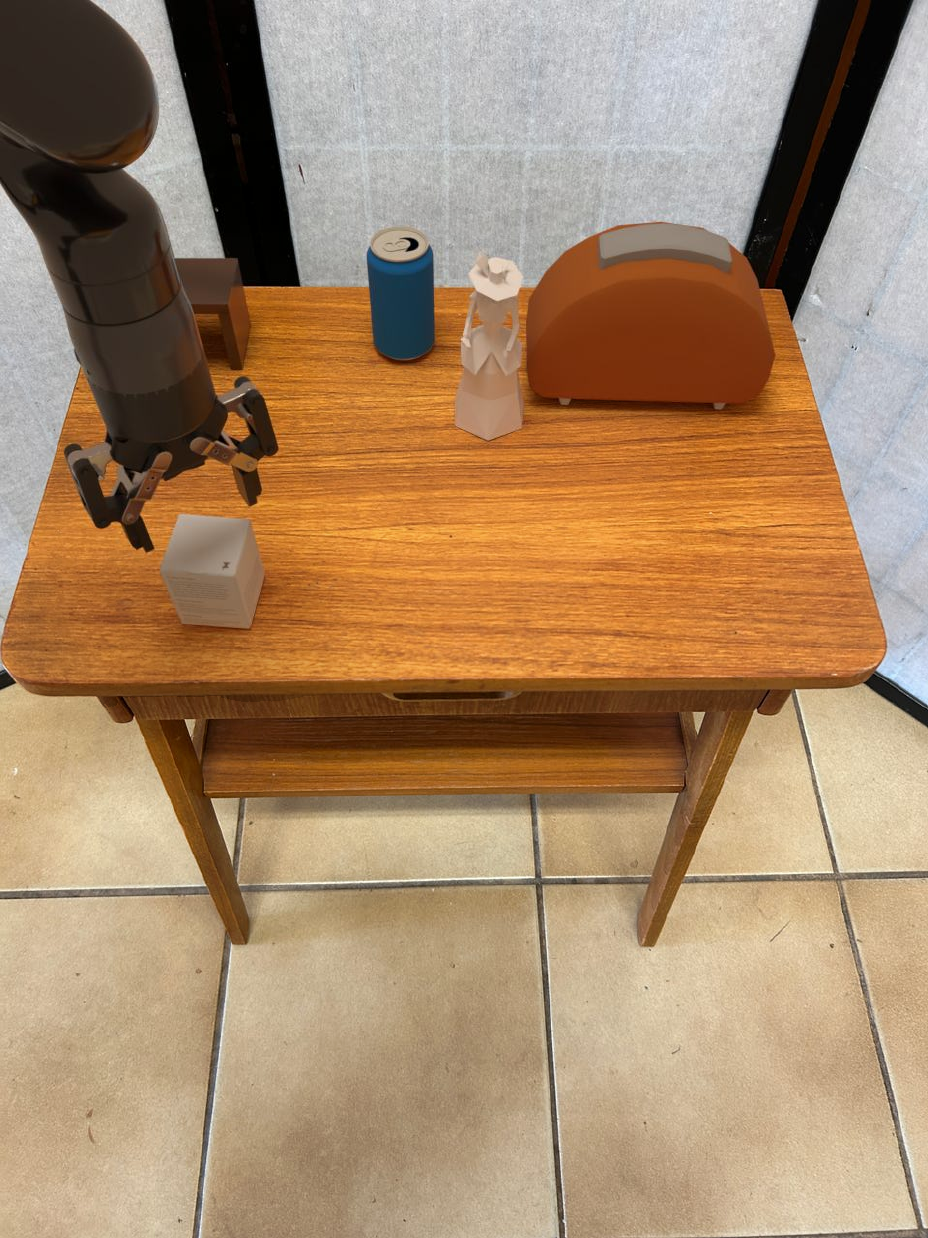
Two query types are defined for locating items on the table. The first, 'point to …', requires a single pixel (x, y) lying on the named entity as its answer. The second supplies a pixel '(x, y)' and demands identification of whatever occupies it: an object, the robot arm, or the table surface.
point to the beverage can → (401, 292)
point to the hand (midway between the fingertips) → (198, 520)
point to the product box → (213, 571)
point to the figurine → (491, 353)
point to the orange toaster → (649, 320)
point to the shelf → (219, 299)
